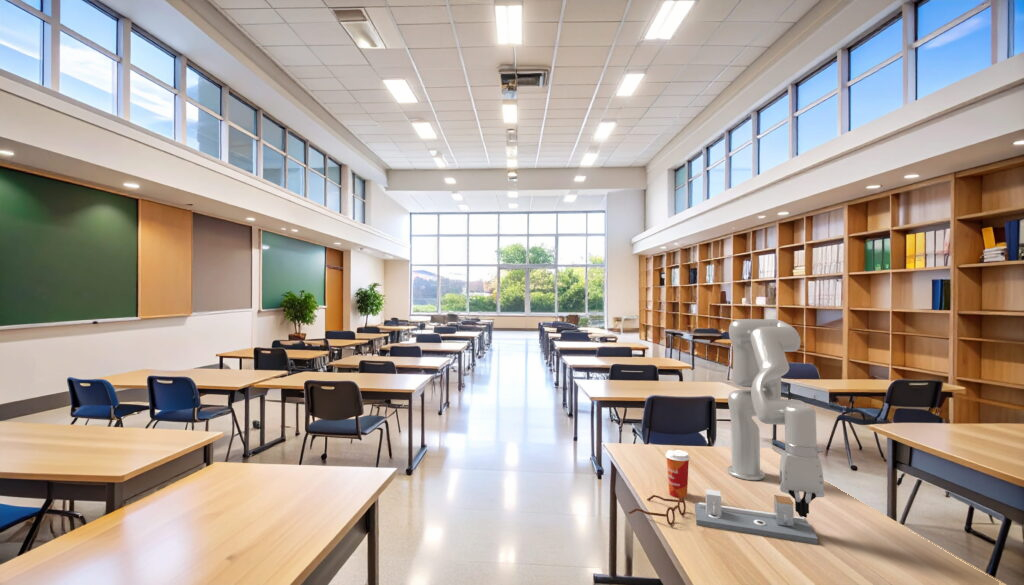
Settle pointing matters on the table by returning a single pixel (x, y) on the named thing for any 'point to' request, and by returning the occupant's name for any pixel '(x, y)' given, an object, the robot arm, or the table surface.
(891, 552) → the table surface
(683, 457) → the paper cup
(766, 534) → the divider plate
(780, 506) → the block
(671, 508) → the glasses
